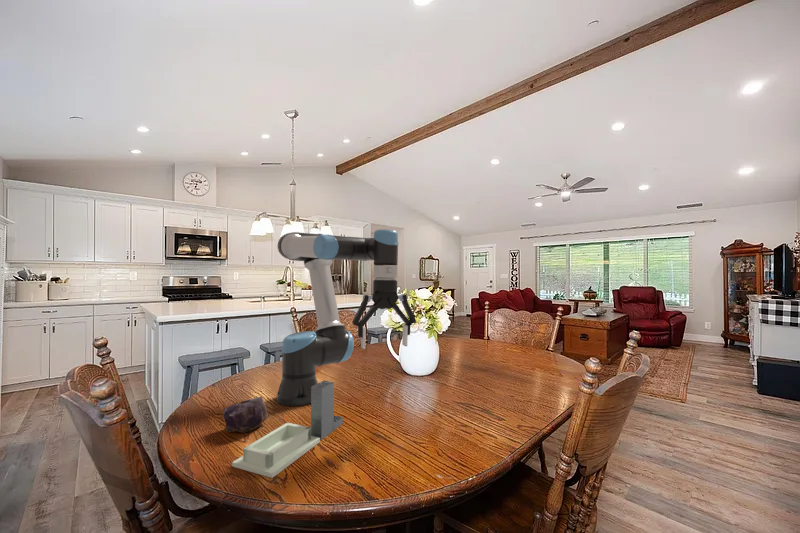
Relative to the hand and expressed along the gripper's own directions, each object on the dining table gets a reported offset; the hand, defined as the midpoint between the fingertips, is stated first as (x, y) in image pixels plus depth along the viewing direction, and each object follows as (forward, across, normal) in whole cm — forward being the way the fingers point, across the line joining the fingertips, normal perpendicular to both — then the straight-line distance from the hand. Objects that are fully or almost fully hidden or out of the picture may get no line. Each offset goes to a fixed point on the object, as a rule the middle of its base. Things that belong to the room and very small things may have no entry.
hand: (384, 346), depth 110 cm
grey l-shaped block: (+23, -18, -3) cm, 29 cm away
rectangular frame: (+22, -31, -12) cm, 40 cm away
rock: (+23, -40, +5) cm, 46 cm away
